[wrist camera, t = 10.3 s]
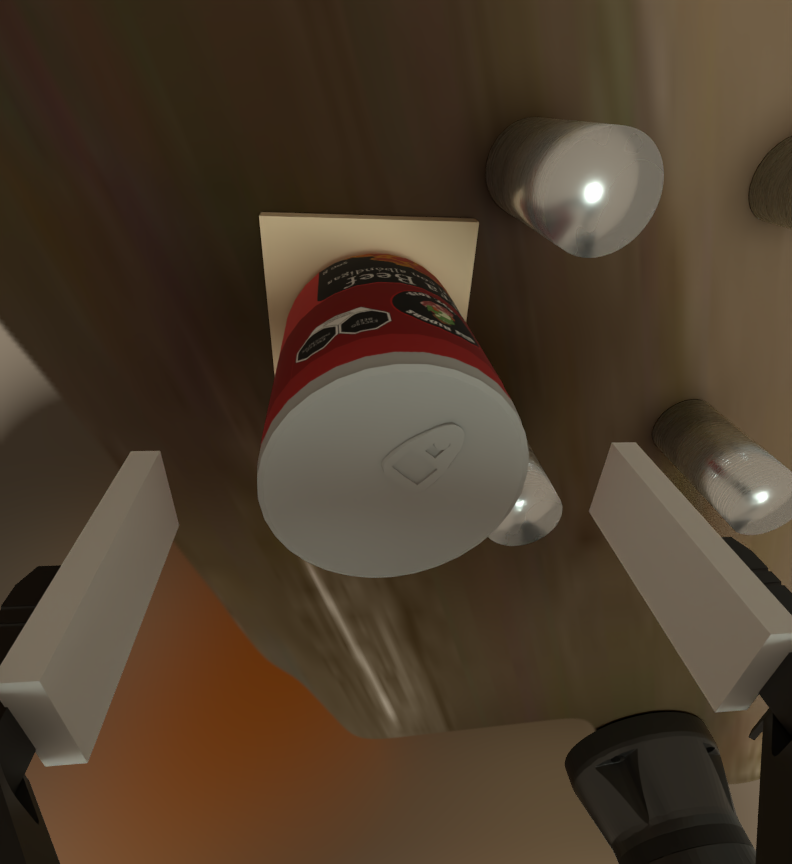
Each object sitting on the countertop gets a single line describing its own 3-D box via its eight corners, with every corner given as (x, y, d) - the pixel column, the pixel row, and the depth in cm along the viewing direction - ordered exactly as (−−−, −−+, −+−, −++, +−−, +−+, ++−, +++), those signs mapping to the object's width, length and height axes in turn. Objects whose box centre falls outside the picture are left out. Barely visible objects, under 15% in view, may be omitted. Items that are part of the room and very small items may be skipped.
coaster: (449, 415, 27) (453, 423, 26) (280, 417, 26) (279, 426, 25) (474, 218, 22) (479, 222, 21) (261, 212, 21) (259, 215, 20)
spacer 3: (699, 450, 30) (785, 533, 25) (644, 451, 30) (718, 536, 24) (723, 399, 28) (823, 476, 23) (664, 399, 28) (750, 478, 22)
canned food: (485, 295, 23) (588, 429, 14) (400, 428, 26) (436, 604, 17) (331, 210, 20) (331, 306, 11) (259, 371, 24) (215, 544, 15)
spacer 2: (559, 216, 22) (641, 258, 16) (479, 213, 21) (533, 256, 16) (580, 119, 20) (682, 128, 14) (492, 114, 19) (559, 122, 14)
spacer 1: (508, 455, 29) (552, 544, 23) (448, 456, 29) (477, 547, 23) (520, 401, 27) (570, 484, 21) (455, 402, 27) (488, 487, 21)
